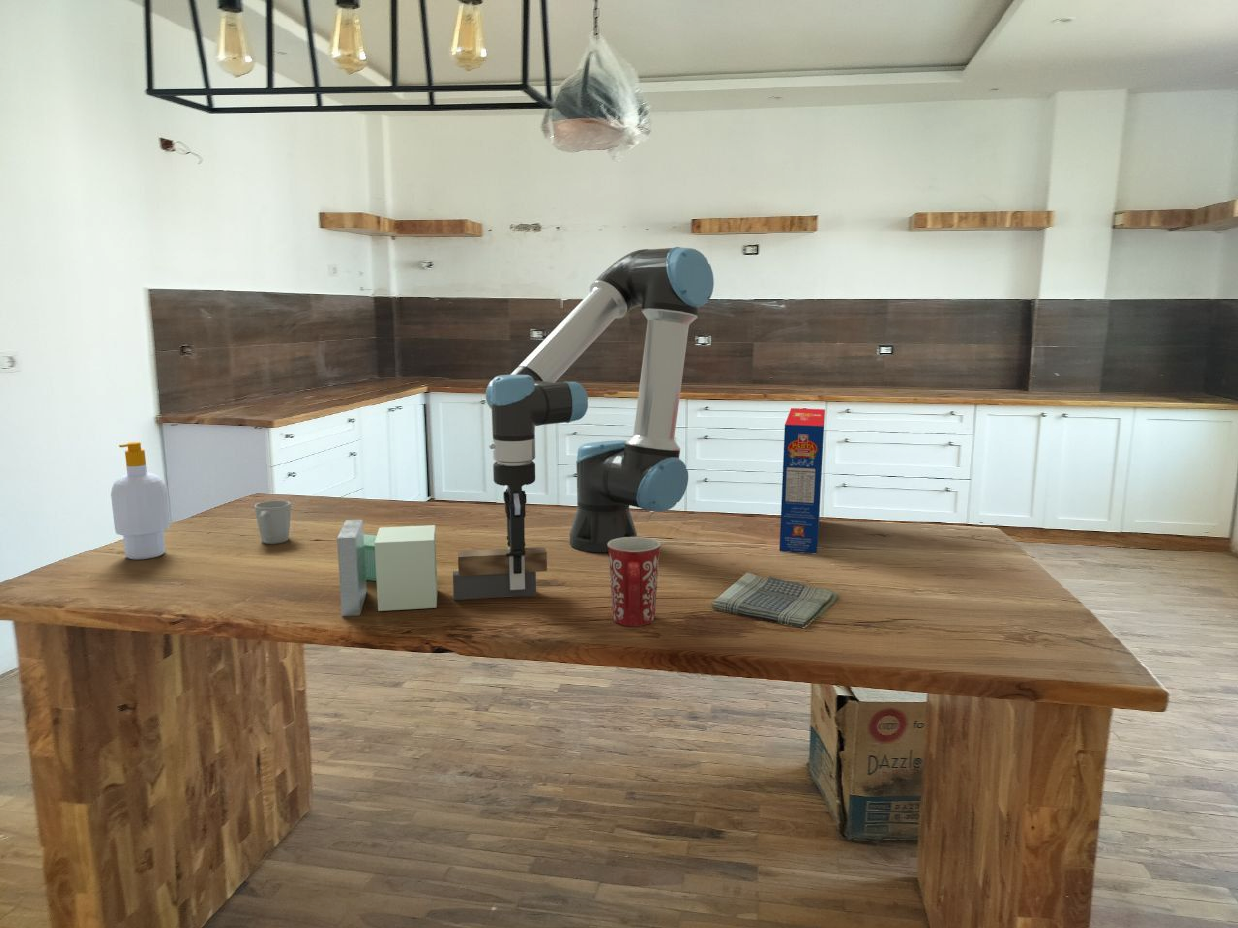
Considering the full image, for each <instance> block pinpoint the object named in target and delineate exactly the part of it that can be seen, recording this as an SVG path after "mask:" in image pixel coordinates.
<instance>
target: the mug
mask: <svg viewBox="0 0 1238 928" xmlns="http://www.w3.org/2000/svg"><path fill="white" fill-rule="evenodd" d="M607 546H608V549H609V552H608V560H609V562H608V563H609V565H608V566H609V574H610V575H609V576H610V577H609V578H610V593H611V612H612V620H613V621H614V622H615V623H617V624H619V625H622V626H627V627H642V626H646V625H649V624H651V623H653V622H654V621H655V619H656V618H655V617H656V603H657V588H658V586H657V585H658V574H659V573H658V572H659V560H660V559H659V557H660V549H661V546H662V545H661V543H660V541H658V540H656V539H652V538H649V537H640V536H637V537H623V538H617V539H613V540H611V541H609V542H608V543H607Z"/></svg>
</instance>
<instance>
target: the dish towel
mask: <svg viewBox="0 0 1238 928" xmlns="http://www.w3.org/2000/svg"><path fill="white" fill-rule="evenodd" d="M839 598H840V594H839V593H837V592H836V591H834V590H831V589H828V588H821V587H815V586H810V585H807V584H804V583H799V582H797V581H796V582H794V581H790V580H784V579H781V578H778V577H775V576H771V575H770V576H768V577H767V578H765V577H762V576H759V575H755V574H753V573H750V572H746V573H745V574H743V575H742V576H741V577H740V578H739V579H738V580H737V581H735V582H734V583H733V584H732V585H731V586H729V587H728V588H727V589H726V590H725V591H724V592H723V593H722V594H721V595H720V596H718V597H717V598H715V599H713V601H712V603H711V608H712V610H716V611H720V612H724V613H729V614H733V615H736V616H742V617H747V618H751V619H756V620H757V619H758V620H761V619H762V621H765V620H767V621H766V622H769V621H772V622H771V623H774V622H777V623H776V624H778V623H782V624H781V625H783V624H787V625H786V626H788V625H792V626H791V627H793V626H797V627H796V628H798V627H805V626H806V625H808V624H809V623H810V621H811V620H813V619H816V618H817V619H818V618H819V617H821V616H822V615H823V614H824V613H826V612H827V611H828V610H829V609H830V608H831V607H832V606H833V605H834V604H835V603H836V602H837V599H838V600H839ZM828 608H829V609H828ZM827 609H828V610H827ZM821 614H822V615H821ZM820 615H821V616H820ZM817 619H816V620H817ZM809 625H810V624H809ZM809 625H808V626H809Z"/></svg>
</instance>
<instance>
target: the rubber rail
mask: <svg viewBox="0 0 1238 928" xmlns="http://www.w3.org/2000/svg"><path fill="white" fill-rule="evenodd" d="M452 583H453V584H452V585H453V586H452V587H453V590H452V591H453V600H454V601H461V600H478V599H494V598H509V597H510V598H511V597H512V598H513V597H526V596H527V597H528V596H529V597H531V596H537V572H525V589H520V590H510V573H507V574H489V575H471V576H459V571H458V570H453V571H452Z"/></svg>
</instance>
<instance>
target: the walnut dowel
mask: <svg viewBox="0 0 1238 928" xmlns="http://www.w3.org/2000/svg"><path fill="white" fill-rule="evenodd" d="M525 551H526V553H525V555H524V560H525V572H536V573H540V572H542V573H543V572H548V552H547V550H546V547H545V546H538V547H537V546H536V547H525ZM506 553H510V549H508V548H496V549H494V548H493V549H479V550H478V549H477V550H475V549H474V550H459V551H457V564H458V566H457V567H458V570H457V571H459V576H471V575H489V574H507V573H510V568H509V557H506Z"/></svg>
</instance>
